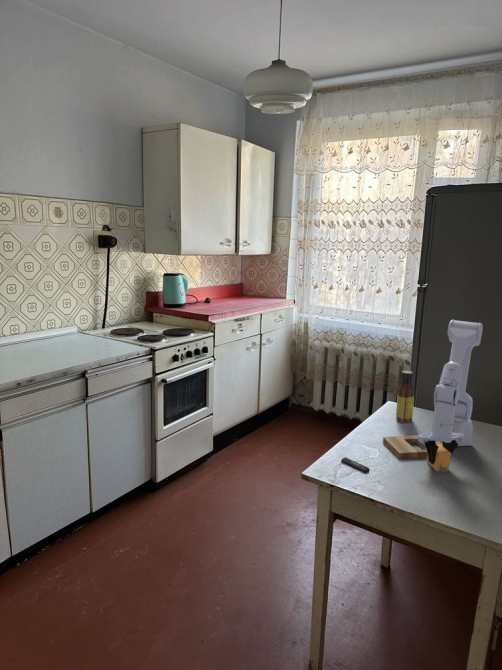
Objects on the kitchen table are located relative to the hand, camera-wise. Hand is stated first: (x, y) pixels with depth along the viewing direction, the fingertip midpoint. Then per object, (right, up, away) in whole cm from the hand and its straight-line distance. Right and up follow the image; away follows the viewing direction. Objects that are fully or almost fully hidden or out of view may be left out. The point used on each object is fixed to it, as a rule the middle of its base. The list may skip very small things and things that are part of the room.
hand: (437, 462), depth 145 cm
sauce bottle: (+1, +6, +36) cm, 37 cm away
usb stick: (-26, -2, -1) cm, 27 cm away
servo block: (0, -1, 0) cm, 1 cm away
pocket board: (-3, +1, +12) cm, 12 cm away
